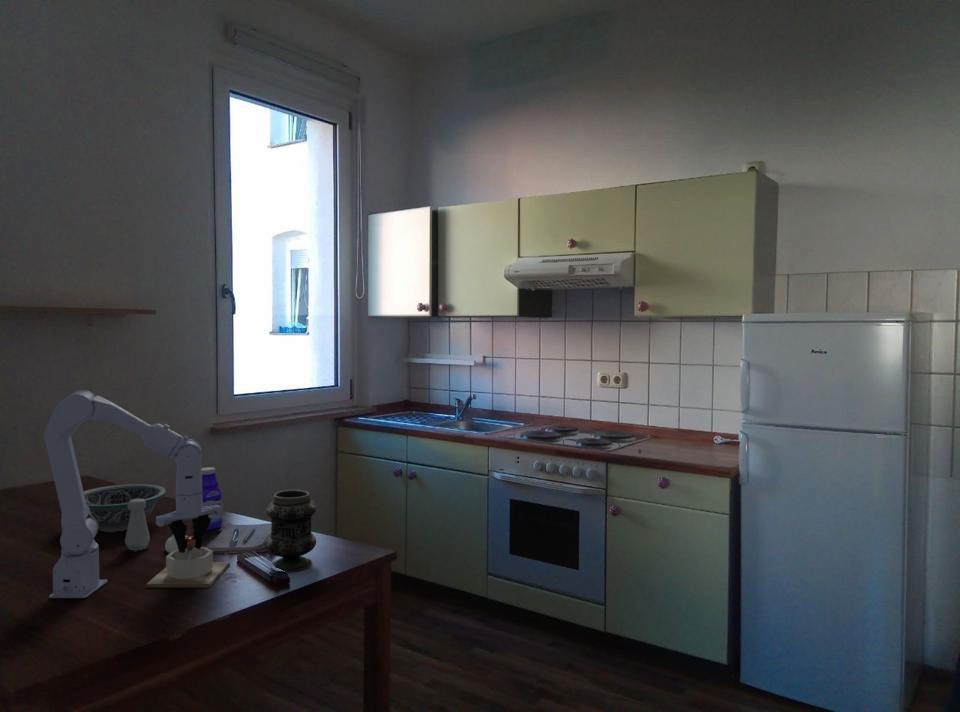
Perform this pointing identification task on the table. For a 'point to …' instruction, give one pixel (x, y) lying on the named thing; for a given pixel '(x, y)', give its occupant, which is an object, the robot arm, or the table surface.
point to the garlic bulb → (171, 544)
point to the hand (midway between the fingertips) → (189, 549)
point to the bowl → (120, 503)
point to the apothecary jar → (291, 529)
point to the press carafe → (189, 564)
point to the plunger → (190, 545)
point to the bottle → (211, 495)
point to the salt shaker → (137, 526)
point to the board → (203, 581)
